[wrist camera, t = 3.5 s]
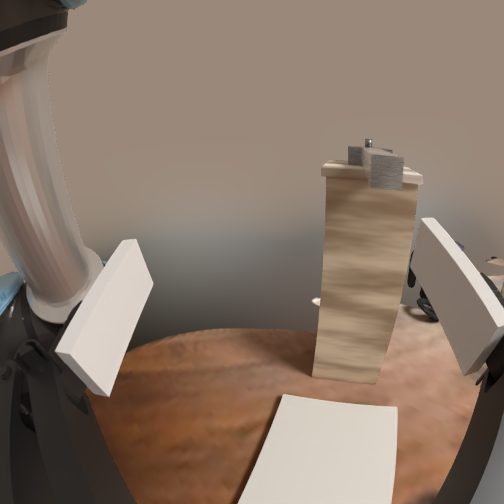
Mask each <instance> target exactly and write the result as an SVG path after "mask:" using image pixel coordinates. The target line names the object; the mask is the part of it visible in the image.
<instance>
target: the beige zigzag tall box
mask: <svg viewBox="0 0 504 504" xmlns="http://www.w3.org/2000/svg"><path fill="white" fill-rule="evenodd" d="M321 175H322V176H326V214H325V239H324V259H323V275H322V288H321V300H320V311H319V321H318V331H317V340H316V349H315V357H314V365H313V372H312V377H315V378H322V379H330V380H338V381H346V382H356V383H366V384H376V381H377V378H378V376H379V373H380V370H381V367H382V364H383V361H384V358H385V355H386V352H387V348H388V345H389V342H390V338H391V335H392V331H393V328H394V324H395V320H396V317H397V313H398V309H399V305H400V300H401V296H402V292H403V287H404V282H405V278H406V272H407V267H408V262H409V256H410V250H411V243H412V237H413V230H414V222H415V214H416V204H417V192H418V184H420V185H423V179H424V176H422V175H421V174H419V173H417V172H415V171H413V170H411V169H410V168H408V167H406V166H403V186H402V191H400V190H390V189H380V188H370V186H369V183H368V180H367V178H366V175H365V173H364V170H363V168H362V165H350V164H348V161H337V160H329V161H328V162H327V163H326V164H325V165H324V166H323V167H322V168H321Z"/></svg>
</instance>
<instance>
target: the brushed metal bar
mask: <svg viewBox="0 0 504 504" xmlns="http://www.w3.org/2000/svg"><path fill="white" fill-rule="evenodd" d="M403 163H404V157H401V156H399V155H396V154H393V153H392V150H390V149H386V148H373V147H372V139H365V147H362V146H348V164H350V165H362V168H363V170H364V173H365V175H366V178H367V180H368V183H369V186H370V188H380V189H390V190H400V191H402V186H403V165H404V164H403Z"/></svg>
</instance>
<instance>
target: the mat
mask: <svg viewBox="0 0 504 504" xmlns="http://www.w3.org/2000/svg"><path fill="white" fill-rule="evenodd" d="M396 447H397V407H386V406H371V405H359V404H349V403H340V402H332V401H324V400H317V399H310V398H304V397H298V396H292V395H287V394H283V397H282V400H281V402H280V405H279V408H278V410H277V413H276V416H275V418H274V421H273V423H272V426H271V428H270V431H269V433H268V436H267V438H266V441H265V443H264V446H263V448H262V451H261V453H260V455H259V458H258V460H257V462H256V465H255V467H254V469H253V471H252V474H251V476H250V478H249V480H248V483H247V485H246V487H245V489H244V491H243V493H242V495H241V498H240V500H239V502H238V504H391V501H392V493H393V485H394V475H395V463H396Z"/></svg>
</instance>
